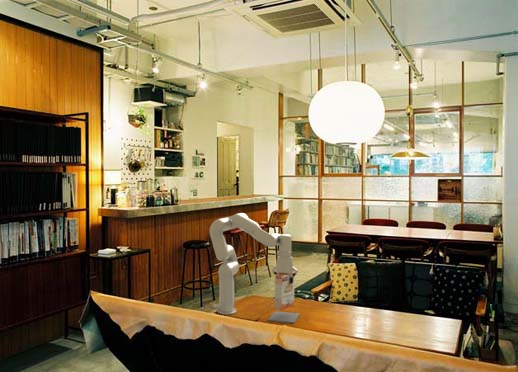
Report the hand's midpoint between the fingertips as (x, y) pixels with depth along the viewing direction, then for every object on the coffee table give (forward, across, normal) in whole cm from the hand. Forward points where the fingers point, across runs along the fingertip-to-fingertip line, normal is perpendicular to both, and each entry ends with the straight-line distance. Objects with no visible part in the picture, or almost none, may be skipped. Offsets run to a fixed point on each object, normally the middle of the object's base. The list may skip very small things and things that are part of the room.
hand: (284, 283), depth 268 cm
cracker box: (+15, 0, 0) cm, 15 cm away
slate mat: (+22, 0, 0) cm, 22 cm away
